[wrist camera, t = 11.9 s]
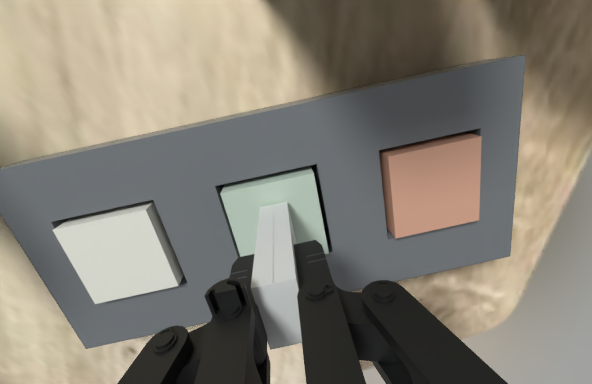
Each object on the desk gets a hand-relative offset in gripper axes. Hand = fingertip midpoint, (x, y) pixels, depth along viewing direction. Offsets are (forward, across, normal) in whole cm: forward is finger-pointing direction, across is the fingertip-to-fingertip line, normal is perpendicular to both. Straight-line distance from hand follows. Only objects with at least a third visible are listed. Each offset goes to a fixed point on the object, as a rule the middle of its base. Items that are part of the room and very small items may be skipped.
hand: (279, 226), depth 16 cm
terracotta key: (+4, +9, 0) cm, 10 cm away
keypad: (+4, 0, 0) cm, 4 cm away
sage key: (+4, 0, 0) cm, 4 cm away
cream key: (+4, -9, 0) cm, 10 cm away
